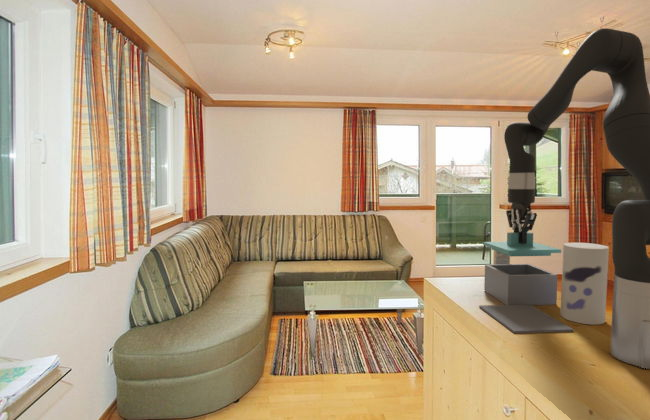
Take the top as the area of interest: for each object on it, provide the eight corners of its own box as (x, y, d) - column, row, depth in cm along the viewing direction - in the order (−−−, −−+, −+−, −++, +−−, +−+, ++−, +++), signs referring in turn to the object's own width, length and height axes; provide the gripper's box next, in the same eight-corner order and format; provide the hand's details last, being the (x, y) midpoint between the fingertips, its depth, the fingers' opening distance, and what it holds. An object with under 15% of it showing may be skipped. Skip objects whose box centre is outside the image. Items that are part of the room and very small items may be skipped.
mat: (573, 331, 95) (573, 329, 95) (514, 333, 94) (514, 330, 94) (529, 306, 114) (529, 304, 114) (479, 307, 113) (479, 305, 113)
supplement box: (492, 281, 142) (493, 245, 141) (506, 282, 141) (507, 246, 139) (494, 286, 134) (495, 249, 133) (509, 288, 133) (510, 250, 132)
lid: (561, 256, 114) (561, 236, 113) (508, 257, 113) (508, 236, 112) (529, 247, 130) (530, 229, 129) (483, 248, 129) (483, 230, 128)
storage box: (556, 304, 115) (557, 274, 115) (507, 305, 115) (508, 275, 114) (527, 290, 130) (528, 263, 130) (484, 291, 130) (484, 264, 129)
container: (561, 321, 102) (565, 246, 100) (559, 309, 111) (562, 240, 109) (608, 327, 97) (612, 249, 96) (601, 315, 106) (605, 243, 104)
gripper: (547, 187, 113) (545, 246, 114) (520, 187, 127) (519, 239, 128) (522, 188, 113) (520, 246, 114) (498, 187, 126) (497, 239, 128)
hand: (519, 242), depth 121 cm, fingers closed on lid, 2 cm apart
